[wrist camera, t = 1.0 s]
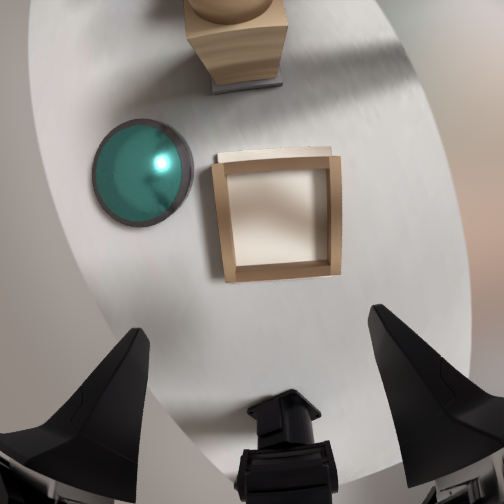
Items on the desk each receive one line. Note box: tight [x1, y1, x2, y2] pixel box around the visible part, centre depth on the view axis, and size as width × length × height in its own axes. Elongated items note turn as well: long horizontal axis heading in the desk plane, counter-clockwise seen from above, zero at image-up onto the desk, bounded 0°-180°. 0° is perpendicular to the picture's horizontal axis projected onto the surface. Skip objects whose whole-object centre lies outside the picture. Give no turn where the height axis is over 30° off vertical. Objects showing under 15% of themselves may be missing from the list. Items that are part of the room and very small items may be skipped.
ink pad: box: [92, 119, 194, 227], centre depth 18 cm, size 8×8×2 cm
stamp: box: [183, 0, 288, 94], centre depth 11 cm, size 5×5×11 cm
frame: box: [211, 147, 342, 284], centre depth 19 cm, size 10×9×2 cm
